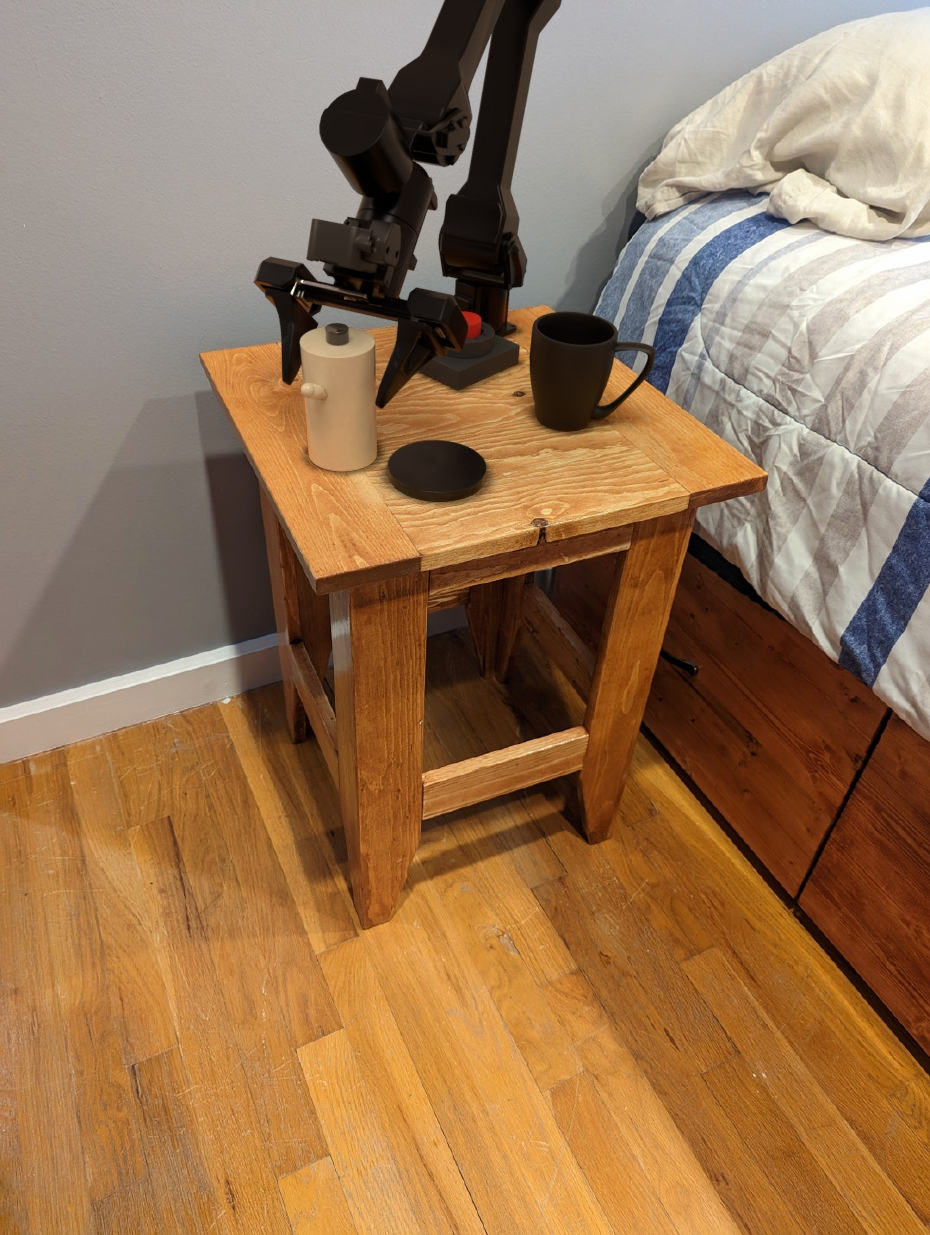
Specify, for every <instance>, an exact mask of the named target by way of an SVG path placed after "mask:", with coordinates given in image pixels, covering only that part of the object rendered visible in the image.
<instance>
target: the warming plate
mask: <svg viewBox="0 0 930 1235" xmlns="http://www.w3.org/2000/svg"><path fill="white" fill-rule="evenodd" d="M487 466H488V465H487V463H486V460H485V459H484V457H483V455H481V454H480V453H479V452H478V451H477V450H475V449H474V448H472V447H470V446H467V445H465V444H462V443H459V442H455V441H450V440H443V439H427V440H418V441H413V442H410V443H408V444H405V445H402V446H400V447H399V448H397V449H396V450H395V451H393V452H392V454H391V455H390V456H389V458H388V460H387V477H388V480H389V483H390V484H391V485H392V486H393V487H394V488H395V489H396V490H397V491H399V492H400V493H402V494H403V495H405V496H408V497H410V498H414V499H417V500H422V501H427V502H441V503H442V502H452V501H458V500H462V499H464V498H468V497H470V496H472V495H474V494H475V493H477V492H478V491H480V490H481V489H482V487H483V486H484V485H485V482H486V479H487V470H488V469H487Z"/></svg>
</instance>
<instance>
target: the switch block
mask: <svg viewBox="0 0 930 1235" xmlns="http://www.w3.org/2000/svg"><path fill="white" fill-rule="evenodd" d="M520 348H521V345H520V344H519V343H516V342H514V341H512V340H509V339H507V338H504V337H503V336H502V337H500V336H498V335H495V331H494V329H493V328H492V327H491V325H489V324H487V323H485V322H482V321H481V334H480V336H477V337H475V338H466V341H465V344H464V347H463V350H462V351H453V350H449V349H446V350H447V354H446V356H445V357H439V356H437V357H435V358H434V359H432V360H431V361H430V362H429V363H428V364H427V365H425V366H424V367H423V368H422V369H421V370H420V371H418V373H420V374H422V375H425V376H427V377H428V378H431V379H433V380H435V381H437V382H440V383H442V384H444V385H446V386H448V387H450V388H452V389H453V390H456V391H460V390H462V389H464V388H467V387H469V386H471V385H473V384H476V383H478V382H480V381H482V380H485V379H487V378H488V377H491V376H493V375H495V374H498V373H500V372H502V371H504V370H507V369H509V368H511V367H513V366H515V365H517V364H519V360H520Z"/></svg>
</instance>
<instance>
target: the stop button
mask: <svg viewBox="0 0 930 1235" xmlns="http://www.w3.org/2000/svg"><path fill="white" fill-rule="evenodd" d="M462 313H463V315H464V317H465V319H466V321H467V323H468V335H467V338H475V337H477V336H480V334H481V317H480V316H479V315H477V314H475V313H472V312H462Z"/></svg>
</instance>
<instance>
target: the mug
mask: <svg viewBox="0 0 930 1235" xmlns="http://www.w3.org/2000/svg"><path fill="white" fill-rule="evenodd" d="M618 338H619V330H618V328H617V327H616V326H615V325H614V323H612V322H611V321H609V320H608V319H605V318H603V317H600V316H599V315H594V314H591V313H586V312H580V311H567V310H566V311H555V312H554V311H553V312H549V313H545V314H542V315H540V316H539V317H537V318H535V320H534V321H533V323H532V326H531V335H530V344H529V356H528V358H529V359H528V360H529V361H528V362H529V365H528V366H529V377H530V379H529V380H530V388H531V392H532V399H533V404H534V409H535V417H536V420H537V421H538V422H539V423H540V424H541V425H543V426H544V427H546V428H549V429H551V430H556V431H560V432H561V431H562V432H574V431H580V430H582V429H585V428H586V427H587V426H589V424H590V422H591V421H595V422H596V421H602V420H604V419H606V418H608V417H609V416H610V415H612V414H613V413H614V412H615V411H616V410H617V409H618V408H619V407H620V406H621V405H622V404H623V403H624V402H625V401H626V400H628V398H629V397H630V396H631V395H632V394H633V393H634V392H635V391H636V390H637V389H638V388H639V387H640V386H641V385H642V383H643V382H645V380H646V379H647V378H648V377H649V375H650V374H651V372H652V370H653V368H654V364H655V361H656V356H657V350H656V348H655V347H654V346H653V345H651V344H647V343H645V342H635V341H618ZM625 351H636V352H641V353H644V354H646V356H647V359H646V362H645V365H644V366H643V368H642V370H641V372H640V373H639V374H638V376H637V377H636V378H635V379H634V380H633V382H631V384H630V385H629V386H628V387H627V388H626V389H625V390H624V392H622V393H621V394H620V395H619V396H618V397H617V398H615V399H614V400H613V401H611V402H609V403H607V404H604V405H600V402H601V400H602V397H603V395H604V393H605V390H606V389H607V385H608V382H609V380H610V377H611V373H612V370H613V366H614V361H615V355H616V353H619V352H625Z"/></svg>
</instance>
